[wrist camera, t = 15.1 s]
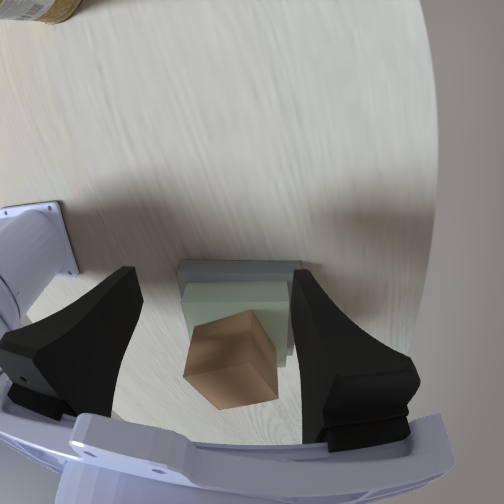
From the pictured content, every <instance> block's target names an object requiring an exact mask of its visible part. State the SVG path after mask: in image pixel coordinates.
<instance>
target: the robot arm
mask: <svg viewBox="0 0 504 504" xmlns="http://www.w3.org/2000/svg"><path fill="white" fill-rule="evenodd" d="M50 206H51V208H52V209H51V208H50ZM78 275H79V270H78V267H77V264H76V262H75V259H74V255H73V252H72V249H71V246H70V243H69V239H68V236H67V233H66V229H65V225H64V222H63V218H62V214H61V210H60V206H59V204H58V203H57V202H45V203H37V204H28V205H21V206H13V207H6V208H1V209H0V441H1V442H2V443H4V444H5V445H7V446H8V447H10V448H12V449H14V450H15V451H17V452H19V453H20V454H22V455H24V456H26V457H28V458H29V459H31V460H33V461H35V462H37V463H39V464H40V465H42V466H44V467H46V468H48V469H50V470H52V471H54V472H56V473H58V474H60V475H62V477H61V480H60V484H59V488H58V491H57V495H56V499H55V503H54V504H367V503H371V502H375V501H379V500H383V499H386V498H390V497H394V496H397V495H400V494H403V493H407V492H410V491H413V490H416V489H419V488H422V487H425V486H426V485H428V484H430V483H432V482H433V481H435V480H437V479H438V478H440V477H442V476H443V475H445V474H446V473H448V472H449V471H451V470H453V469H454V468H455V467H456V461H455V457H454V454H453V451H452V447H451V445H450V441H449V438H448V435H447V432H446V429H445V426H444V423H443V420H442V417H441V414H439V413H438V414H434V415H430V416H426V417H422V418H418V419H415V420H413V421H411V422H409V423H408V421H407V417H406V416H408V414H409V410H408V407H407V404H408V402H409V401H410V400H411V399H412V397H413V396H414V395H415V393H416V391H417V390H418V388H419V386H420V378H419V375H418V373H417V370H416V368H415V366H414V364H413V362H412V360H411V358H410V357H408V356H406V355H404V354H401V353H399V352H397V351H395V350H393V349H391V348H390V347H388V346H386V345H384V344H383V343H381V342H379V341H378V340H376V339H375V338H373V337H372V336H370V335H369V334H368V333H366V332H365V331H364V330H362V329H361V328H360V327H358V326H357V325H356V324H355V323H354V322H353V321H351V320H350V319H349V318H348V317H347V316H346V315H345V314H344V313H343V312H342V311H341V310H340V309H339V308H338V307H337V306H336V305H335V304H334V302H333V301H332V300H331V299H330V298H329V297H328V295H327V294H326V293H325V292H324V290H323V289H322V288H321V287H320V285H319V284H318V283H317V281H316V280H315V278H314V277H313V276H312V274H311V273H310V271H309V270H308V269H294V273H293V284H292V294H291V303H290V309H291V324H292V330H293V336H294V341H295V346H296V352H297V357H298V363H299V369H300V380H301V399H302V444H299V445H228V444H213V443H202V442H192V441H190V440H189V439H188V438H187V437H186V436H183V435H181V434H179V433H176V432H174V431H171V430H167V429H162V428H158V427H153V426H147V425H142V424H136V423H131V422H126V421H122V420H117V419H113V418H111V411H112V404H113V397H114V392H115V387H116V382H117V377H118V373H119V369H120V366H121V362H122V359H123V356H124V354H125V351H126V349H127V346H128V344H129V341H130V339H131V337H132V334H133V332H134V329H135V327H136V325H137V322H138V320H139V316H140V313H141V309H142V305H143V297H142V293H141V290H140V286H139V282H138V278H137V274H136V270H135V267H130V266H123V267H121V268H120V269H118V270H117V271H115V272H114V273H113V274H111V275H110V276H109V277H107V278H106V279H105V280H103V281H102V282H101V283H99V284H98V285H97V286H96V287H94V288H93V289H92V290H90V291H89V292H87V293H86V294H85V295H83V296H82V297H80V298H79V299H78V300H76V301H75V302H73V303H72V304H70V305H68V306H67V307H65V308H63V309H62V310H60V311H58V312H56V313H54V314H52V315H50V316H48V317H46V318H45V319H42V320H40V321H38V322H35V323H33V324H31V325H28V326H25V327H23V326H22V324H21V323H20V321H21V319H22V318H23V317H24V315H25V314H26V313H27V311H28V310H29V309H30V307H31V306H32V305H33V303H34V302H35V301H36V299H37V298H38V297H39V295H40V294H41V293H42V292H43V290H44V289H45V288H46V287H47V285H48V284H49V283H50V282H51V280H52V279H53V278H54V277H55V276H63V277H77V276H78ZM9 378H10V380H12V382H13V384H12V386H11V387H9V386H8V385H7V384H5V382H6V381H8V379H9Z"/></svg>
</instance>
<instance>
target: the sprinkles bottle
mask: <svg viewBox="0 0 504 504" xmlns="http://www.w3.org/2000/svg"><path fill="white" fill-rule="evenodd" d="M80 2H81V0H0V19H4V20H21V21H41V22H44V23H46V24H52V25H53V24H57V23H59V22H62V21H64V20H65V19H66V18H68V17H69V16H70V15H71V14H72V13H73V12H74V11H75V10H76V8H77V6H78V5H79V3H80Z"/></svg>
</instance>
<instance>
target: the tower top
mask: <svg viewBox="0 0 504 504" xmlns="http://www.w3.org/2000/svg"><path fill="white" fill-rule="evenodd" d="M181 306H182V310H183V314H184V318H185V321H186V325H187V329H188V333H189V337H190V340H191V338H192V333H193V329H194V327H195V326H198V325H201V324H205V323H208V322H211V321H215V320H218V319H221V318H225V317H228V316H231V315H234V314H238V313H241V312H244V311H247V310H250V309H252V311H253V312H254V314H255V316H256V317H257V319H258V321H259V322H260V324H261V325H262V327H263V329H264V330H265V332H266V334H267V335H268V337H269V338H270V340H271V342H272V343H273V345H274V346H275V348H276V357H277V367H286V352H287V335H288V316H289V295H288V287H287V281H258V282H187V284H186V287H185V290H184V294H183V297H182V300H181Z"/></svg>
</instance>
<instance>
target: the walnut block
mask: <svg viewBox="0 0 504 504" xmlns="http://www.w3.org/2000/svg"><path fill="white" fill-rule="evenodd" d="M183 378H185V379H186V380H187V381H188V382H189V383H190V384H191V385H192V386H193V387H194V388H195V389H196V390H197V391H198V392H199V393H200V394H201V395H202V396H203V397H205V398H206V399H207V400H208V401H209V402H210V403H211V404H212V405H213V406H215V407H216V408H217V409H218V410H222V409H229V408H235V407H240V406H246V405H251V404H256V403H261V402H266V401H271V400H275V399H279V398H278V377H277V357H276V348H275V346H274V345H273V343H272V342H271V340H270V338H269V337H268V335H267V334H266V332H265V330H264V329H263V327H262V325H261V324H260V322H259V321H258V319H257V317H256V316H255V314H254V312H253V311H252V309H250V310H247V311H244V312H241V313H238V314H234V315H231V316H228V317H225V318H221V319H218V320H215V321H211V322H208V323H205V324H201V325H198V326H195V327H194V329H193V333H192V338H191V342H190V347H189V351H188V356H187V361H186V365H185V370H184V375H183Z"/></svg>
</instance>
